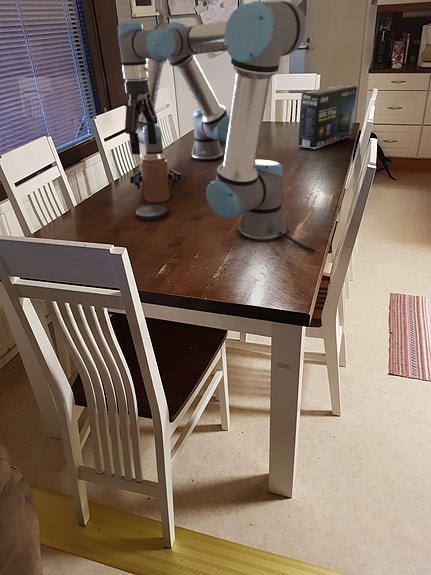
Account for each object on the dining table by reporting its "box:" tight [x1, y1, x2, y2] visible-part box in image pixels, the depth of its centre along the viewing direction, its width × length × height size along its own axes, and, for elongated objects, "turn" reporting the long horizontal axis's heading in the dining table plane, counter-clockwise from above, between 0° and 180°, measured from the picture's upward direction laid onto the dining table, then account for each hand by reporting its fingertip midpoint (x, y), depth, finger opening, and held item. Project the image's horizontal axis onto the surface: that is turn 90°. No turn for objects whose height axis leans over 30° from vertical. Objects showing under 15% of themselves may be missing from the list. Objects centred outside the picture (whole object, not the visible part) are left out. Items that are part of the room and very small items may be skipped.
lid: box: [135, 204, 167, 222], centre depth 165 cm, size 11×11×2 cm
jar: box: [139, 154, 171, 203], centre depth 177 cm, size 10×10×16 cm
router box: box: [297, 84, 358, 151], centre depth 238 cm, size 36×11×27 cm, turn 134°
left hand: (155, 184), depth 175 cm, fingers open, 13 cm apart
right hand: (144, 149), depth 153 cm, fingers open, 13 cm apart
